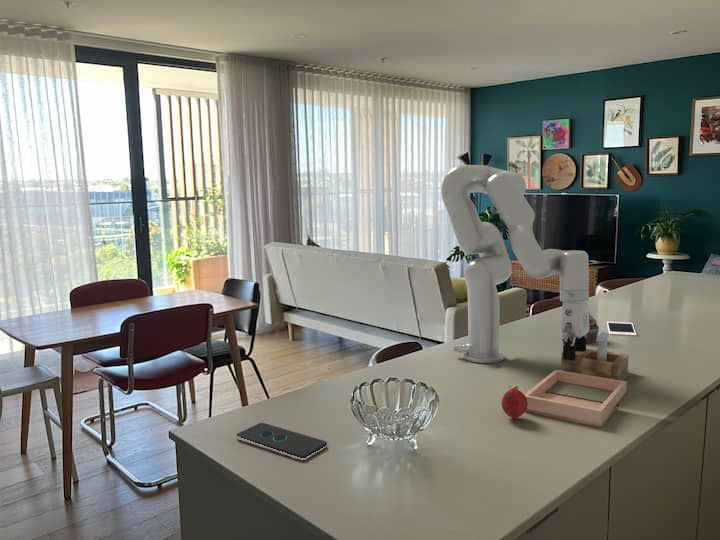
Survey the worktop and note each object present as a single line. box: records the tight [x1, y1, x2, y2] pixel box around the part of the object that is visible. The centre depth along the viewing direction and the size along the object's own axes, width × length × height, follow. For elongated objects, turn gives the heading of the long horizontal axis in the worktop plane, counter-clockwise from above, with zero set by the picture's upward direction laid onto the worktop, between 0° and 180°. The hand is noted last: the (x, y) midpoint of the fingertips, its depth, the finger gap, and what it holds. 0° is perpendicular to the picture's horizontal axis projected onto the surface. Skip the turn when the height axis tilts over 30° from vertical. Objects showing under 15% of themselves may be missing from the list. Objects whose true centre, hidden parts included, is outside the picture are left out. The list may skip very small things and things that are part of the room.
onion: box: [501, 385, 528, 420], centre depth 136 cm, size 6×6×8 cm
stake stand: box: [558, 331, 631, 381], centre depth 163 cm, size 17×13×12 cm
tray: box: [523, 369, 628, 429], centre depth 145 cm, size 23×18×4 cm
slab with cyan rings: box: [236, 422, 328, 458], centre depth 128 cm, size 8×2×20 cm
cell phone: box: [606, 321, 638, 337], centre depth 213 cm, size 9×18×1 cm, turn 160°
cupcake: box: [586, 313, 600, 344], centre depth 200 cm, size 10×10×10 cm
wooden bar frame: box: [560, 348, 629, 380], centre depth 163 cm, size 16×11×5 cm
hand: (574, 355), depth 165 cm, fingers open, 9 cm apart
